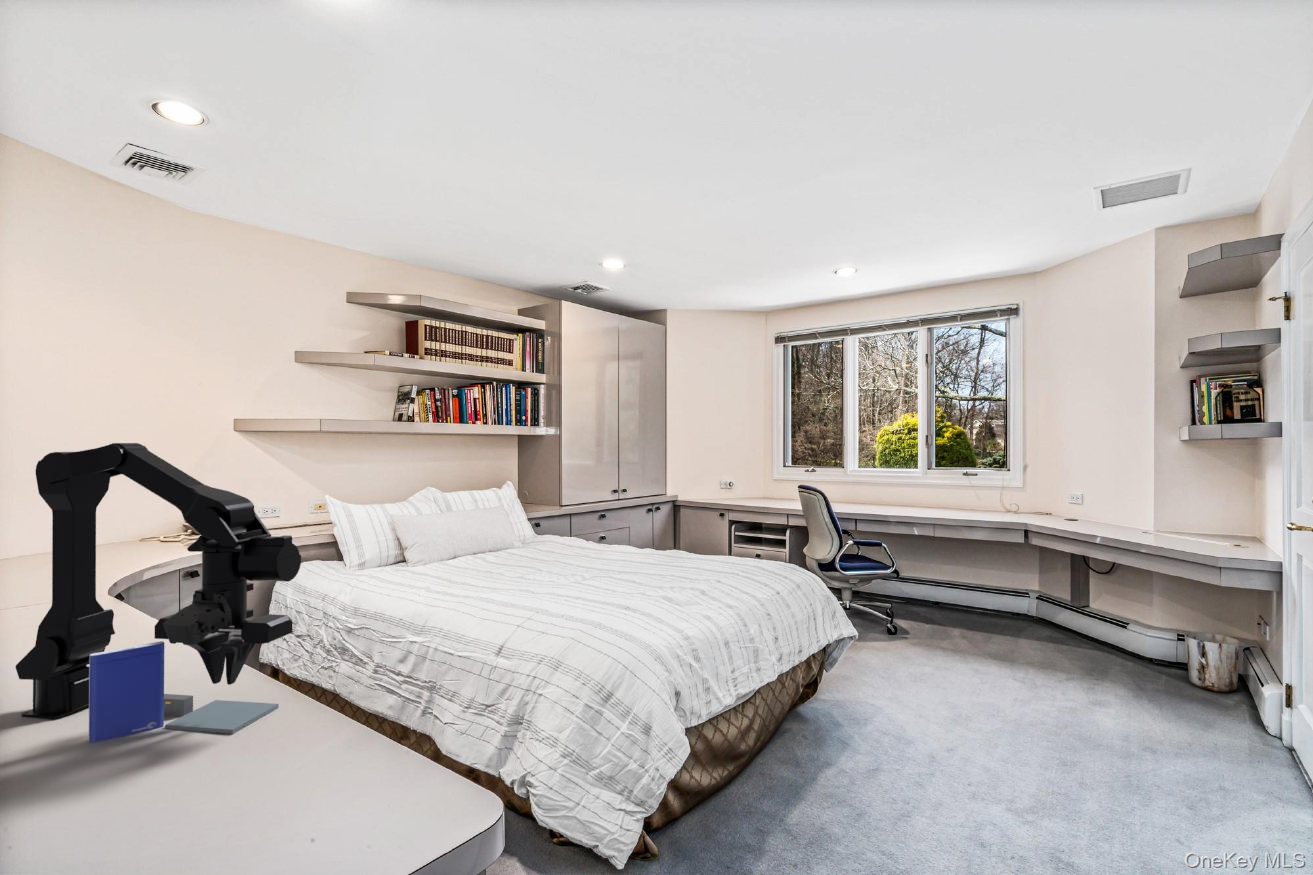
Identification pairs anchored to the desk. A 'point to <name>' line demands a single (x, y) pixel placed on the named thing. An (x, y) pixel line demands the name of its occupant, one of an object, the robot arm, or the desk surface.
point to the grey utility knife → (177, 704)
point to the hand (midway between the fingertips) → (224, 683)
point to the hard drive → (126, 691)
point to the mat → (223, 716)
